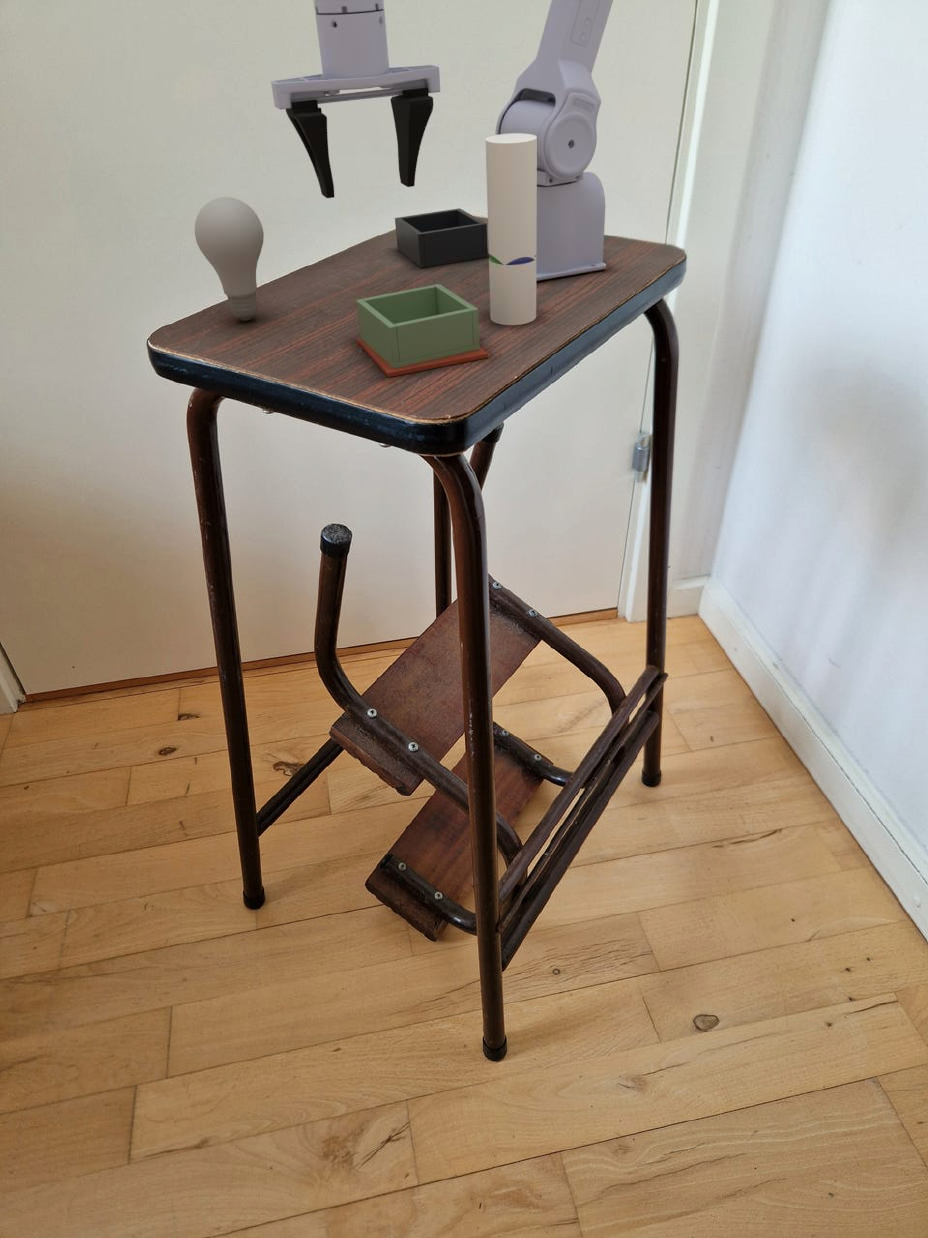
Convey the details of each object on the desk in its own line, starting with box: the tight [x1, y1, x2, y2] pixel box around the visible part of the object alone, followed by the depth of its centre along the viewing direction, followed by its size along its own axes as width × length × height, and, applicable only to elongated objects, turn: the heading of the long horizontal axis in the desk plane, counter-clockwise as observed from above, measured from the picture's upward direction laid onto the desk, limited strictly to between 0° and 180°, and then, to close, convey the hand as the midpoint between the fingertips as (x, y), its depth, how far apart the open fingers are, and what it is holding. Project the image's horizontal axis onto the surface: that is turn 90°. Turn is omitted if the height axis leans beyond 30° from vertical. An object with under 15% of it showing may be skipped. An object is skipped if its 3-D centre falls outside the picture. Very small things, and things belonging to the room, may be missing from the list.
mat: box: [356, 337, 489, 378], centre depth 77 cm, size 9×9×1 cm
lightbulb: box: [194, 196, 265, 322], centre depth 82 cm, size 6×6×11 cm
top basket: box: [355, 283, 480, 369], centre depth 76 cm, size 8×8×4 cm
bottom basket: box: [394, 208, 489, 269], centre depth 99 cm, size 8×8×4 cm
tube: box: [485, 133, 537, 326], centre depth 78 cm, size 4×4×15 cm
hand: (368, 190), depth 81 cm, fingers open, 7 cm apart
